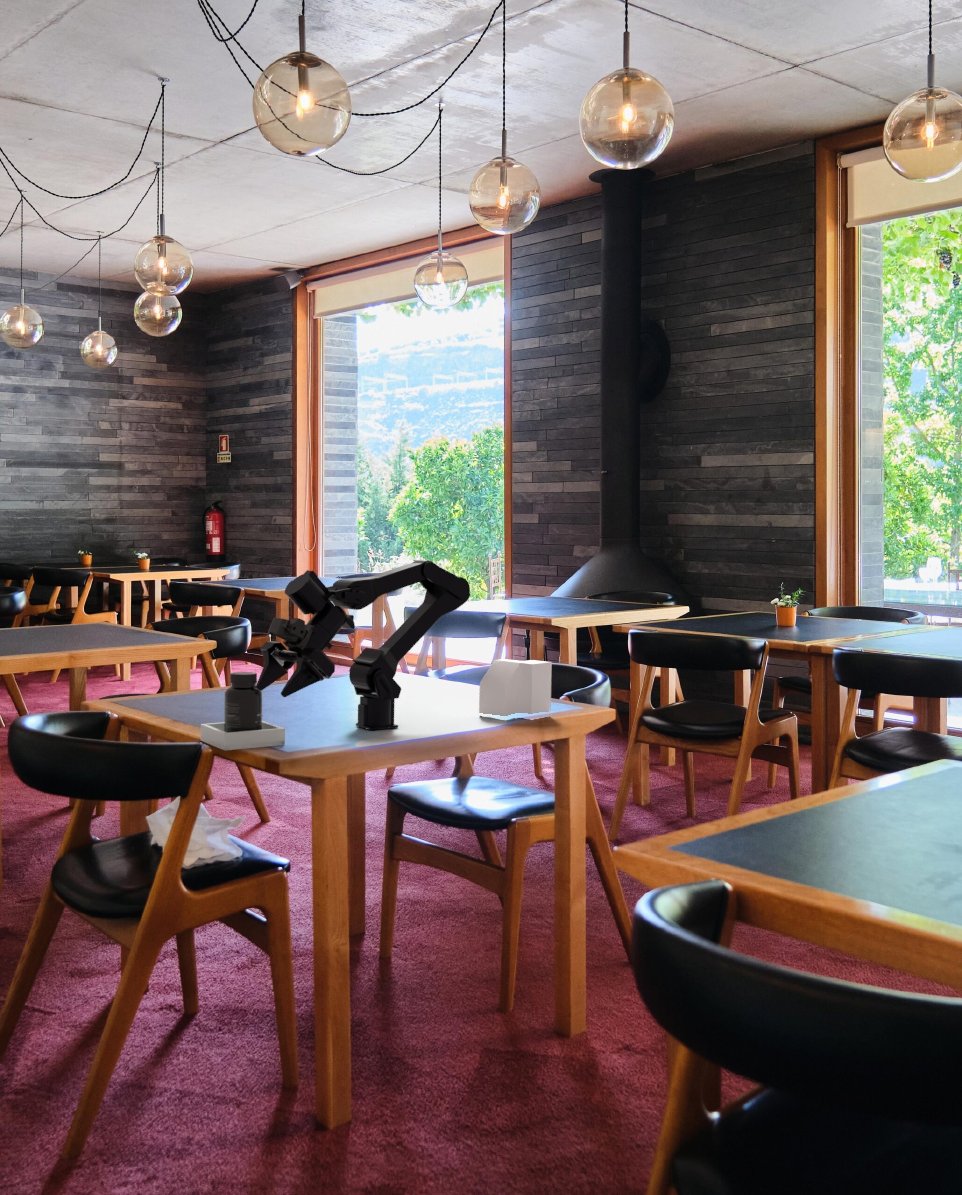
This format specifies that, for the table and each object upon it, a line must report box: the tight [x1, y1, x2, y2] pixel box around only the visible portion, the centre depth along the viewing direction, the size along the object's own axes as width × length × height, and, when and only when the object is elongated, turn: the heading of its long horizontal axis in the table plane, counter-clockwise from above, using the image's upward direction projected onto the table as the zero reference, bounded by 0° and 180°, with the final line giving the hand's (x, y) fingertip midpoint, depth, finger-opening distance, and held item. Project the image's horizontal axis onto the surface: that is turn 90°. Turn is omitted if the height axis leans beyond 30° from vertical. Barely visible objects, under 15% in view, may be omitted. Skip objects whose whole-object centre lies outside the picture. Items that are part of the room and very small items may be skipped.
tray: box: [200, 720, 286, 752], centre depth 209 cm, size 12×12×3 cm
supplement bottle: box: [223, 671, 263, 733], centre depth 209 cm, size 7×7×12 cm
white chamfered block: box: [478, 658, 553, 716], centre depth 245 cm, size 11×11×12 cm
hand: (269, 692), depth 212 cm, fingers open, 9 cm apart
